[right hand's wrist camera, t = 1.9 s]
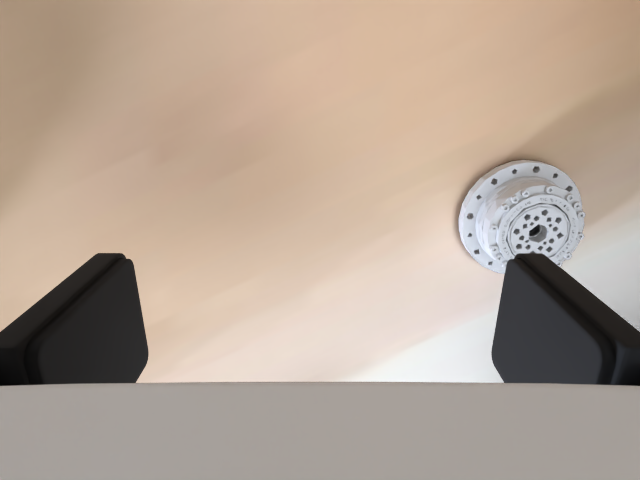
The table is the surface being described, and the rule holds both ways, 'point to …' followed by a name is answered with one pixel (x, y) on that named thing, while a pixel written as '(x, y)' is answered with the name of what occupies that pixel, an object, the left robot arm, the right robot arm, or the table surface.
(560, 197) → the mechanical component
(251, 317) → the table surface
